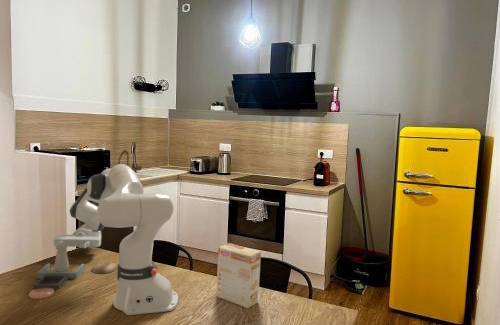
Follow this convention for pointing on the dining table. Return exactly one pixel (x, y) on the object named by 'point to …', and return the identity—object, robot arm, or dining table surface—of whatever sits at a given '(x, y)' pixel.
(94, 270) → the cork trivet
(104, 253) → the dining table surface
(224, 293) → the coffeecake box
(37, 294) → the coaster
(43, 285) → the hole frame
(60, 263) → the salt shaker
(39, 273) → the cubby bay
